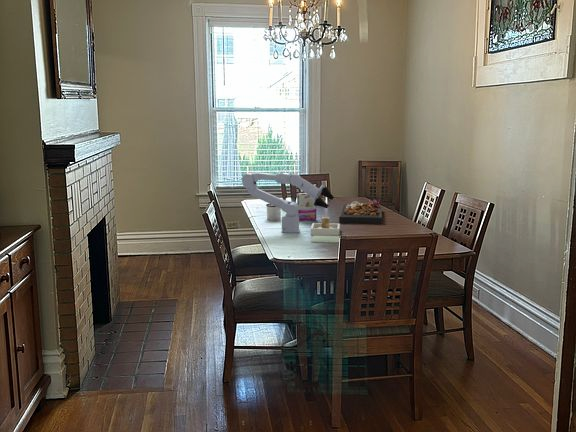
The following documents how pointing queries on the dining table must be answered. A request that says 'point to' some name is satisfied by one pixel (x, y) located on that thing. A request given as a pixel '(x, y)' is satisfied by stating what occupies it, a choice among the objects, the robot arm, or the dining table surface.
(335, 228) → the white square tray
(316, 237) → the pad
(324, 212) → the dining table surface
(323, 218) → the wood block
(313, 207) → the candy bar box
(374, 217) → the food platter
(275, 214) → the mug
